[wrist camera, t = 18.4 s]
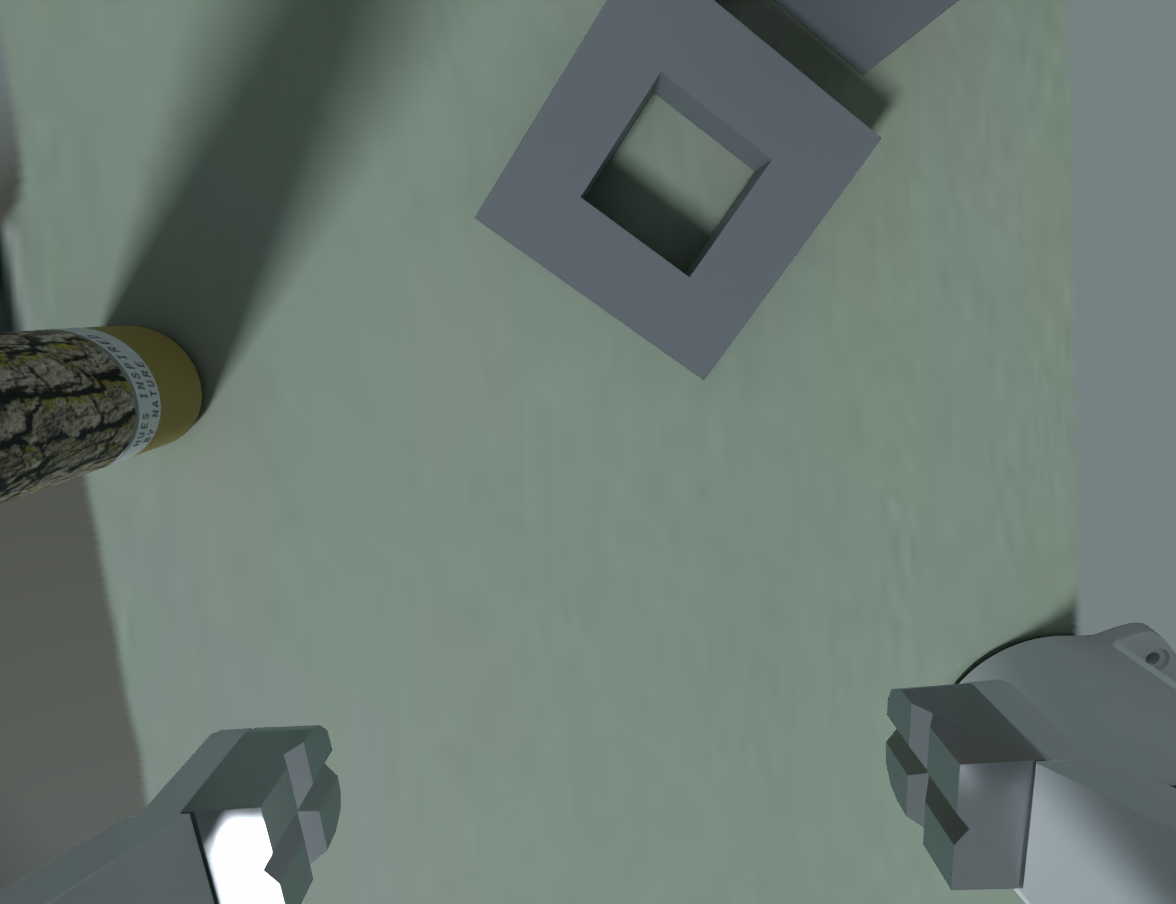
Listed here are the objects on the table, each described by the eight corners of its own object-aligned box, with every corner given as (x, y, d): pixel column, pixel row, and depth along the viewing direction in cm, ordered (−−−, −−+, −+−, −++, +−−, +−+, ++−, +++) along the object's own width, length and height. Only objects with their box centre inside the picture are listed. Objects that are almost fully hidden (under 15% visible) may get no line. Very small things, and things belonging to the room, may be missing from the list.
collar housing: (854, 152, 33) (881, 138, 30) (693, 373, 35) (703, 380, 33) (637, -25, 31) (643, -59, 28) (484, 224, 33) (474, 217, 30)
